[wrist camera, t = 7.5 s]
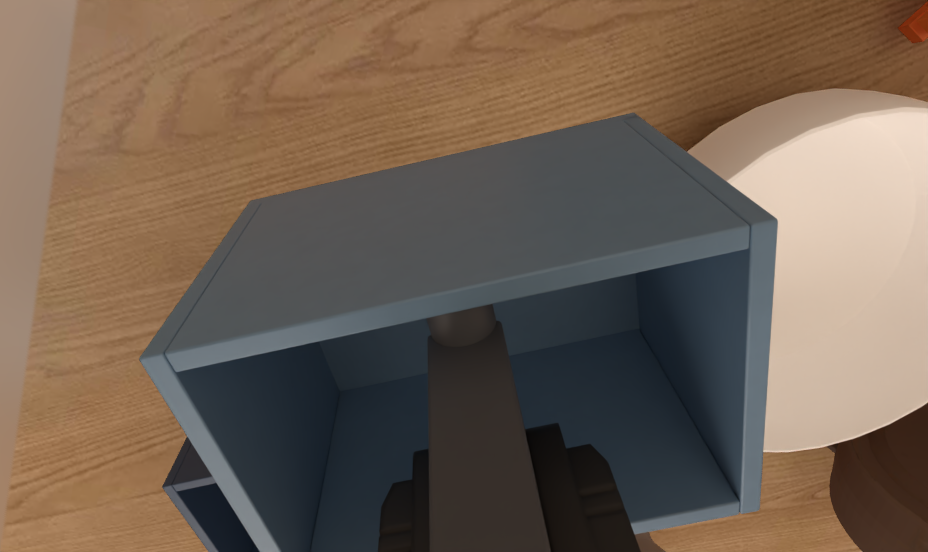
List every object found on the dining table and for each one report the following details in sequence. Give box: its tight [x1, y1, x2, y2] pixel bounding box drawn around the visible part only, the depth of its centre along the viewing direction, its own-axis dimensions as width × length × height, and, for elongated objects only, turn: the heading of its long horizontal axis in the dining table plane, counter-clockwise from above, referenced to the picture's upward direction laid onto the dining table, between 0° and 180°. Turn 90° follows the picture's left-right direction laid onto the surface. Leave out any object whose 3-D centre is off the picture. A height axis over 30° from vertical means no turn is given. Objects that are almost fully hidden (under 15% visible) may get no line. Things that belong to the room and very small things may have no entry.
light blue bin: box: [139, 113, 778, 552], centre depth 14 cm, size 12×8×13 cm, turn 102°
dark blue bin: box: [162, 437, 260, 552], centre depth 38 cm, size 14×10×8 cm
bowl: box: [687, 88, 928, 452], centre depth 32 cm, size 20×20×8 cm
